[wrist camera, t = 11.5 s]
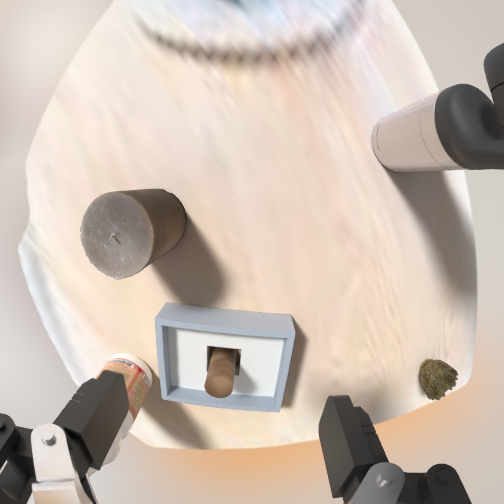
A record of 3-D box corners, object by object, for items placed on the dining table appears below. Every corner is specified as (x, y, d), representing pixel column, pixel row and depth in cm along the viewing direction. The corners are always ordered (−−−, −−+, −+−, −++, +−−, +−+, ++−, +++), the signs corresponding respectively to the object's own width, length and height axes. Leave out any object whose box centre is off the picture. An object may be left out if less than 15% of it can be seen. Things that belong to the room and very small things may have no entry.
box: (290, 314, 44) (295, 332, 39) (277, 390, 48) (279, 412, 42) (166, 302, 44) (155, 318, 38) (170, 379, 48) (162, 399, 42)
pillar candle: (182, 184, 40) (143, 183, 25) (190, 249, 42) (157, 280, 28) (124, 193, 41) (67, 199, 26) (133, 254, 43) (82, 284, 28)
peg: (237, 342, 46) (233, 378, 36) (235, 361, 47) (232, 399, 37) (213, 340, 46) (204, 375, 36) (212, 359, 46) (204, 396, 37)
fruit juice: (163, 380, 48) (113, 500, 21) (132, 394, 49) (80, 499, 22) (130, 343, 46) (53, 455, 19) (101, 361, 47) (29, 458, 20)
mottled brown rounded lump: (417, 384, 48) (433, 406, 41) (406, 367, 47) (423, 390, 39) (443, 362, 47) (461, 382, 39) (434, 343, 46) (454, 363, 38)
